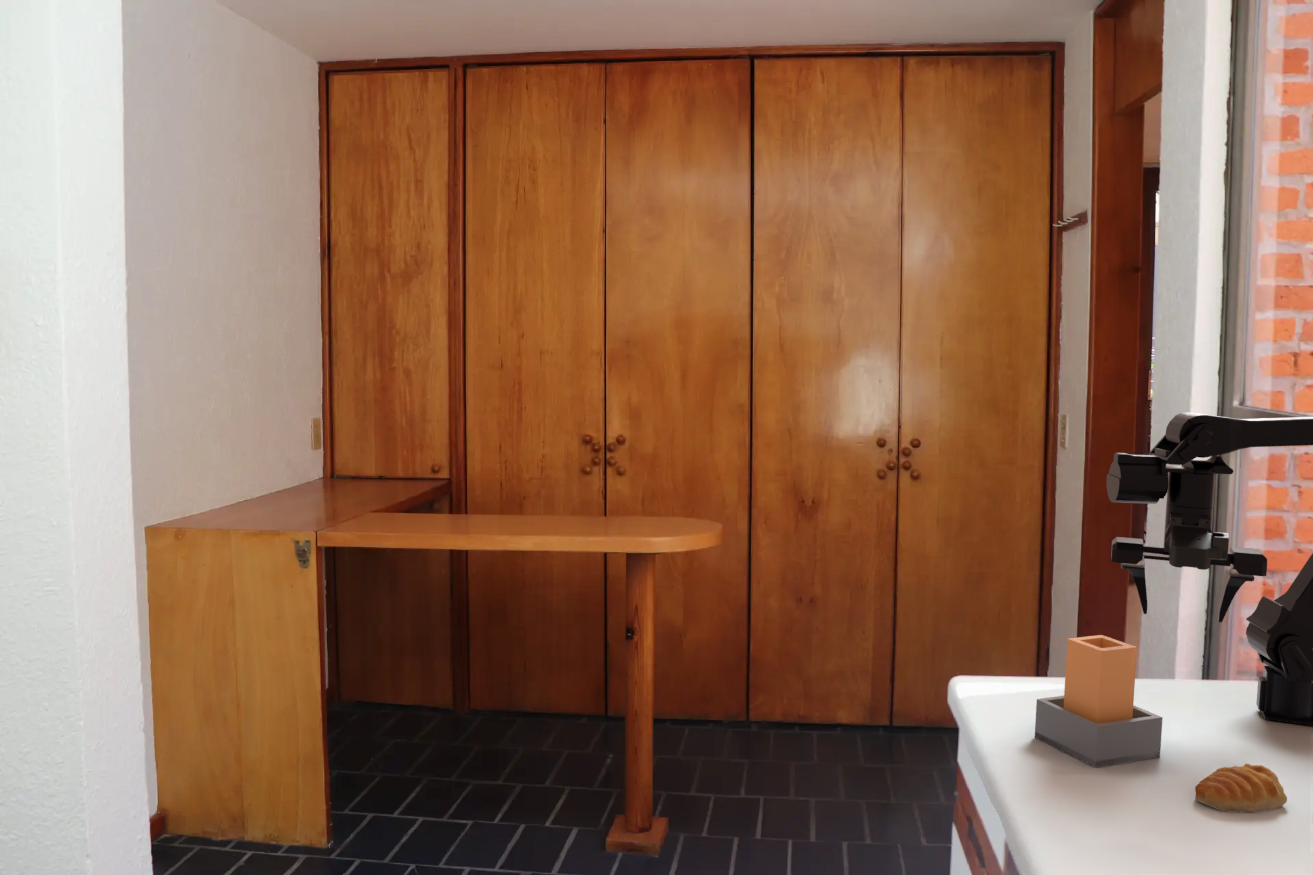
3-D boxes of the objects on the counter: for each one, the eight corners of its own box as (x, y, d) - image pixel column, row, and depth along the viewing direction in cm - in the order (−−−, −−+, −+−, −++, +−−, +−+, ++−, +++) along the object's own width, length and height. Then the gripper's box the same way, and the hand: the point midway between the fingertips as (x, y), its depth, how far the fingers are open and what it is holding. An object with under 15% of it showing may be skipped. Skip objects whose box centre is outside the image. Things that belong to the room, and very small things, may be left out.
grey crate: (1096, 727, 137) (1098, 690, 136) (1159, 756, 127) (1162, 717, 127) (1034, 737, 133) (1036, 698, 132) (1095, 767, 123) (1097, 726, 123)
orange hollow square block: (1096, 730, 134) (1101, 634, 132) (1130, 746, 128) (1136, 646, 127) (1061, 735, 131) (1067, 638, 130) (1095, 751, 126) (1101, 651, 125)
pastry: (1229, 822, 110) (1231, 787, 110) (1176, 797, 116) (1178, 764, 116) (1291, 809, 114) (1294, 775, 113) (1236, 785, 120) (1238, 753, 120)
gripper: (1115, 507, 138) (1108, 622, 139) (1277, 519, 131) (1268, 641, 132) (1114, 497, 148) (1108, 604, 150) (1265, 507, 141) (1256, 620, 142)
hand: (1181, 617), depth 143 cm, fingers open, 9 cm apart
